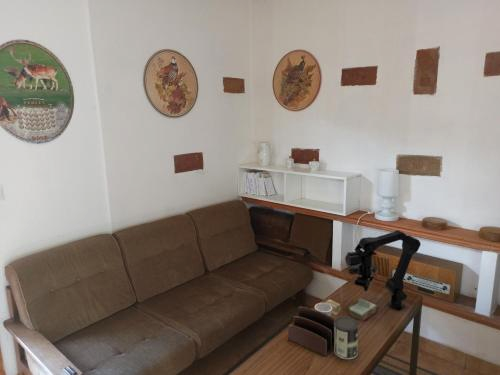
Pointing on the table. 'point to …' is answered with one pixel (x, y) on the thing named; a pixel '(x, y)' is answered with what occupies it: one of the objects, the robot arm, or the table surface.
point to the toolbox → (365, 315)
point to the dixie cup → (324, 308)
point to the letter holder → (313, 330)
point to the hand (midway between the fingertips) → (366, 291)
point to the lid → (362, 307)
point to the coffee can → (346, 337)
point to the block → (334, 307)
